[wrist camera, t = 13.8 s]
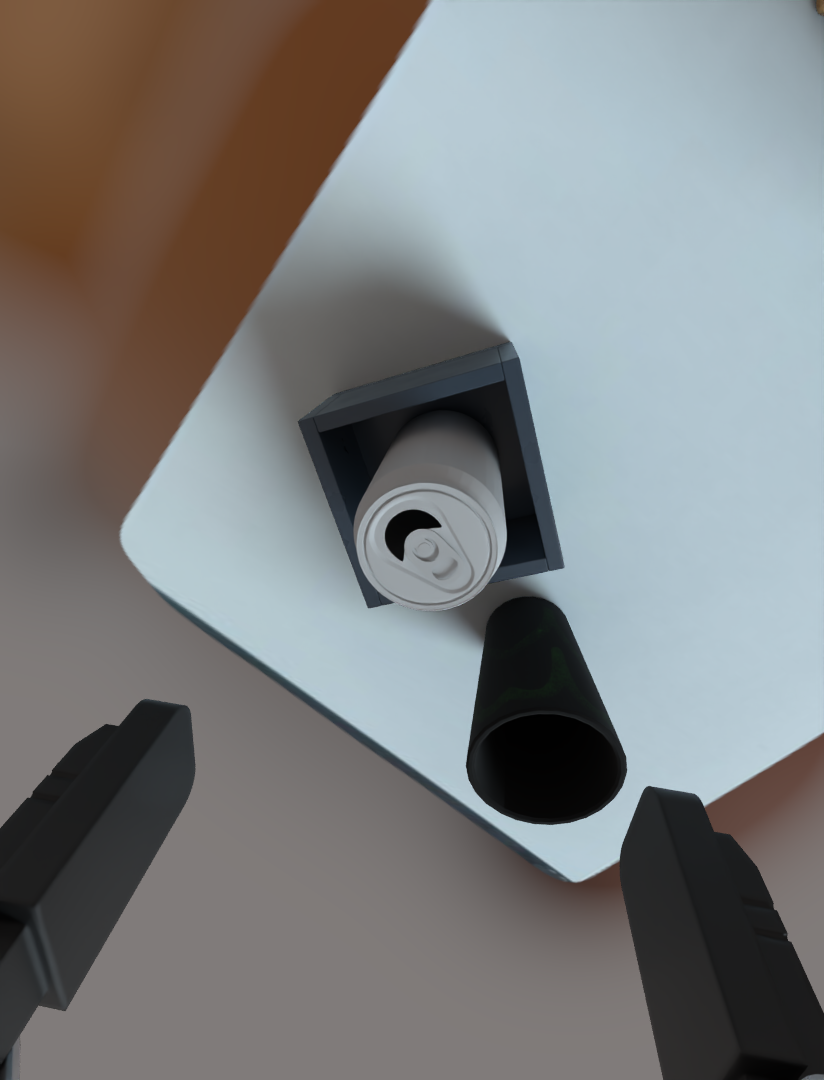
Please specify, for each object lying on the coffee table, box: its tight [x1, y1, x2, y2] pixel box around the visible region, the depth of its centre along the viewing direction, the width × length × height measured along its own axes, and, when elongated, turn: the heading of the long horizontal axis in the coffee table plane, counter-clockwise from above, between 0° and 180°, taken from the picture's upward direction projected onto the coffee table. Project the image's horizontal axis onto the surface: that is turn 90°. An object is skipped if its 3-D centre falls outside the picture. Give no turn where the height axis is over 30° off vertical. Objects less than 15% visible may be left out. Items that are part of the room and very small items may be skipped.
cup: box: [466, 597, 627, 825], centre depth 33 cm, size 8×8×12 cm
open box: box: [298, 342, 565, 608], centre depth 31 cm, size 11×11×7 cm
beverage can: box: [353, 410, 507, 611], centre depth 28 cm, size 6×6×12 cm
